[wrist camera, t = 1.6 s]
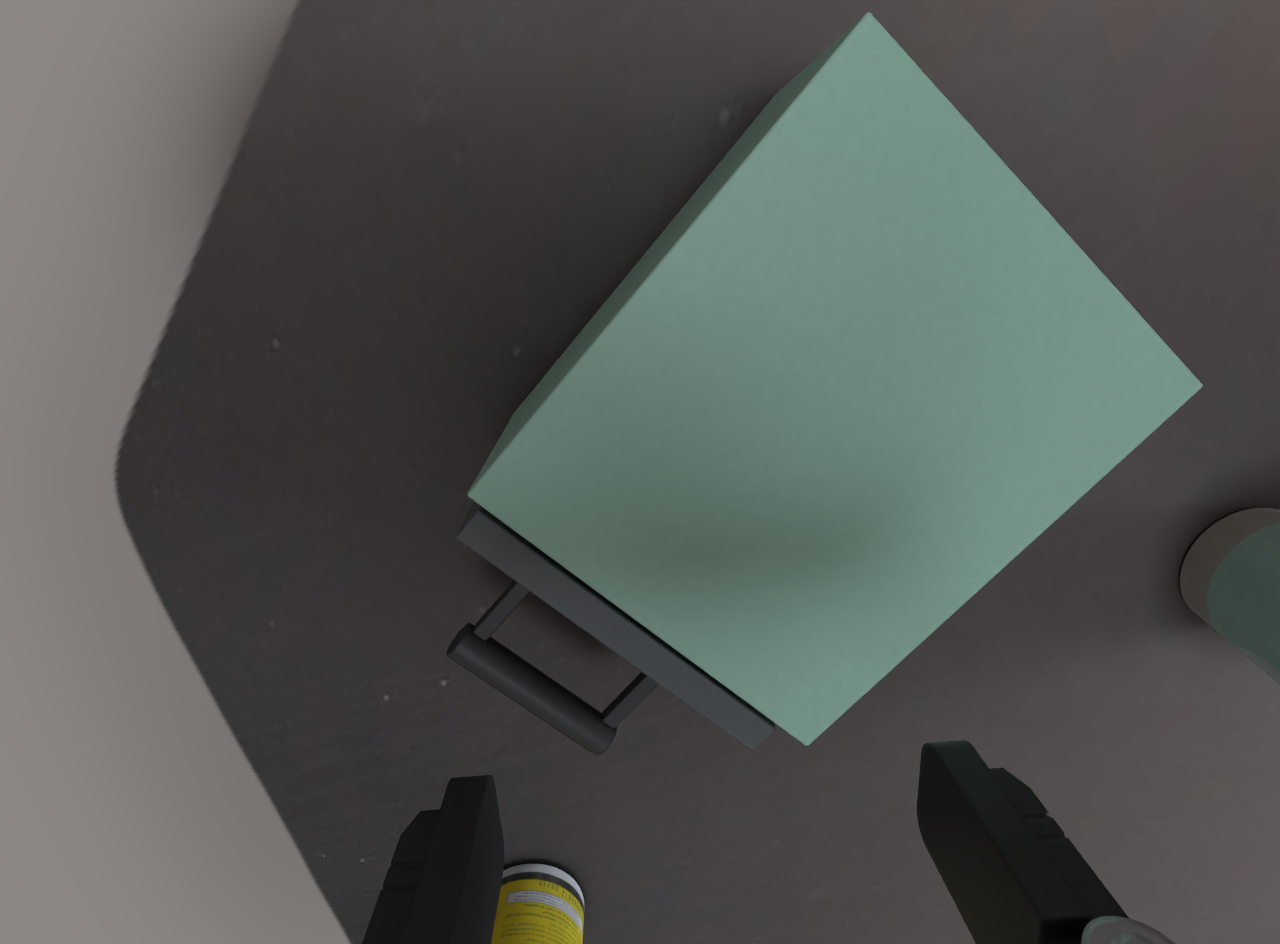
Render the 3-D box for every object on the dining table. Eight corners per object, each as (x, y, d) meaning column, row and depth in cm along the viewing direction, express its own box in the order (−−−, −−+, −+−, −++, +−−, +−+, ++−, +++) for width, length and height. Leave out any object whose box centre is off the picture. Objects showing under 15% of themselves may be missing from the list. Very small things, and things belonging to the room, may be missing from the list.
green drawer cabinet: (751, 602, 32) (807, 747, 23) (512, 414, 29) (465, 495, 19) (1015, 338, 28) (1205, 386, 19) (777, 92, 25) (869, 9, 16)
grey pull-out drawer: (642, 707, 32) (650, 847, 25) (419, 551, 29) (354, 656, 22) (964, 385, 28) (1090, 438, 21) (740, 165, 25) (793, 134, 18)
